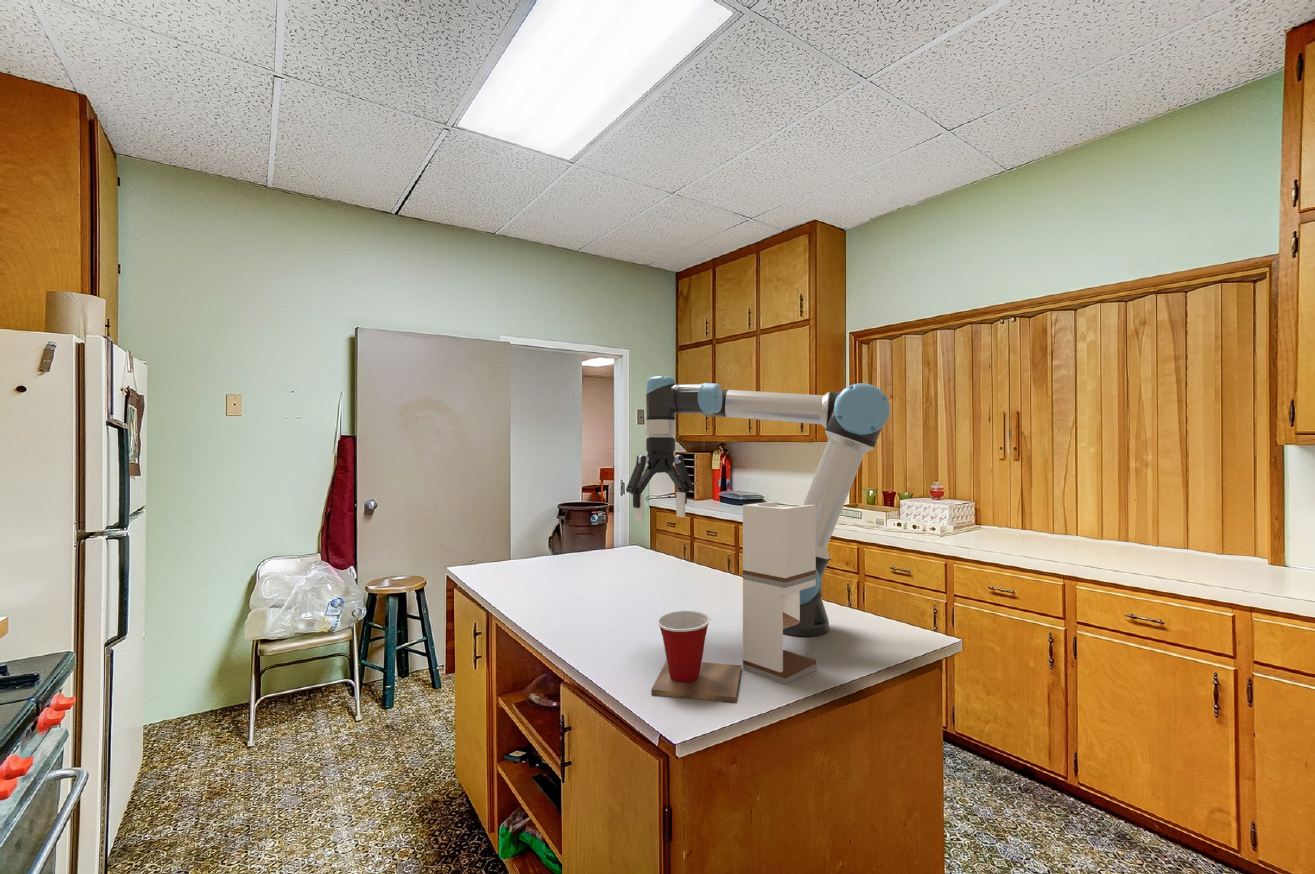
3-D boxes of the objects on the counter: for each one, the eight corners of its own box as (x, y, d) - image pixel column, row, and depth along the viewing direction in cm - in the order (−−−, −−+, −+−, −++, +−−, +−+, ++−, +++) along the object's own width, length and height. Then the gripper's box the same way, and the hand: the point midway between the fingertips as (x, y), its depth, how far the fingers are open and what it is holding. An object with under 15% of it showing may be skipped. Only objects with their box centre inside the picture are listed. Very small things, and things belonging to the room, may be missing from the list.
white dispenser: (785, 684, 115) (784, 508, 116) (743, 669, 123) (742, 505, 123) (816, 669, 123) (815, 504, 124) (774, 656, 131) (774, 501, 131)
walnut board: (741, 669, 123) (741, 665, 123) (735, 702, 107) (735, 697, 107) (667, 663, 126) (667, 659, 126) (651, 694, 110) (651, 689, 110)
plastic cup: (645, 677, 116) (645, 617, 116) (682, 663, 124) (682, 607, 124) (684, 694, 108) (684, 629, 109) (721, 677, 116) (721, 617, 116)
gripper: (687, 437, 160) (687, 513, 160) (612, 436, 145) (612, 521, 144) (706, 437, 154) (706, 516, 154) (629, 436, 139) (629, 524, 139)
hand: (660, 518), depth 149 cm, fingers open, 13 cm apart
